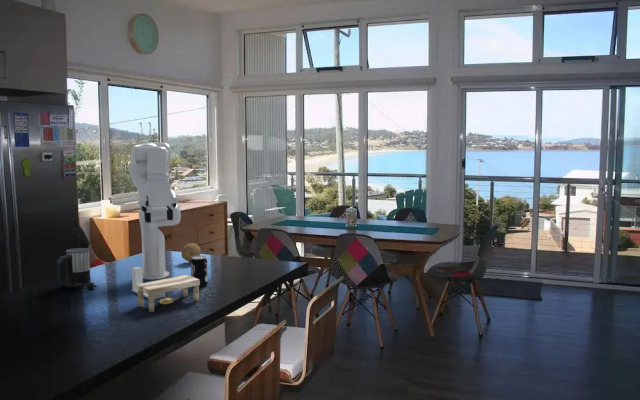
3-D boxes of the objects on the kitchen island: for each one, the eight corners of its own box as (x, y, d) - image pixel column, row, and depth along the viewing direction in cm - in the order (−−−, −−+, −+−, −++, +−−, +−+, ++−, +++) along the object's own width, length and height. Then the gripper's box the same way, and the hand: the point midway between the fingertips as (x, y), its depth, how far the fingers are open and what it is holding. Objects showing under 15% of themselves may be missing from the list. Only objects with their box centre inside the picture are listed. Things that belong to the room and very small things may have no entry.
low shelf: (137, 306, 194) (136, 284, 194) (186, 295, 208) (185, 274, 208) (150, 312, 187) (149, 289, 186) (200, 300, 201) (199, 279, 200)
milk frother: (77, 281, 229) (75, 247, 227) (110, 283, 225) (108, 248, 224) (54, 290, 215) (52, 254, 213) (89, 292, 212) (87, 255, 210)
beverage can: (203, 288, 218) (203, 259, 217) (188, 287, 219) (187, 258, 218) (210, 284, 224) (209, 255, 223) (195, 283, 226) (194, 255, 224)
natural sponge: (192, 266, 256) (192, 245, 255) (177, 264, 260) (177, 244, 259) (204, 262, 264) (204, 242, 263) (189, 260, 268) (189, 240, 267)
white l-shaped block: (128, 290, 215) (128, 268, 214) (143, 287, 219) (142, 265, 218) (150, 300, 202) (149, 276, 201) (165, 296, 206) (164, 273, 205)
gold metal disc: (156, 303, 199) (156, 299, 199) (169, 300, 203) (169, 297, 203) (163, 305, 196) (163, 302, 196) (176, 303, 199) (175, 299, 199)
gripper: (171, 176, 221) (172, 218, 223) (132, 178, 209) (134, 222, 210) (182, 177, 216) (183, 219, 218) (142, 179, 204) (144, 224, 205)
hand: (159, 221), depth 214 cm, fingers open, 9 cm apart
